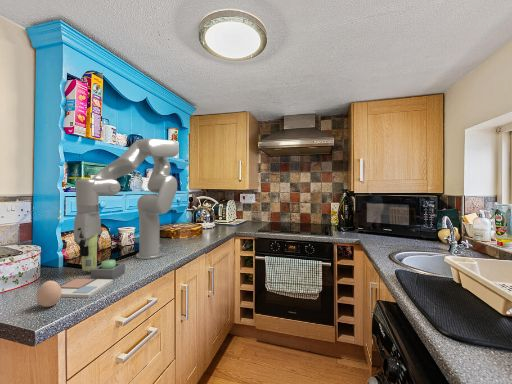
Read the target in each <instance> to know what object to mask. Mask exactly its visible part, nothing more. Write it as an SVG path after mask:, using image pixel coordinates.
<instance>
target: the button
mask: <svg viewBox="0 0 512 384" xmlns="http://www.w3.org/2000/svg"><path fill="white" fill-rule="evenodd" d="M116 263H117V262H116V259H105V260H103V261H101V265H102V269H113V268H114V267H116Z"/></svg>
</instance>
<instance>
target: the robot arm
mask: <svg viewBox="0 0 512 384" xmlns="http://www.w3.org/2000/svg"><path fill="white" fill-rule="evenodd" d="M179 152H180V148H179V145H178V144H177V143H176V142H175V141H174V140H170V139H159V138H141V139H137V140H135V141H134V142H133V143H132V144H131V145H130V146H129V147H128V148H127V149H126V150H125V151H124V153H122V154H121V155H120V156H119V157H118V158H116V159H115V160H113V161H111V162H110V163H109V164H107V165H105V166H104V167H103V168H102V169H100V170H99V171H98V172H97V173H96V174H94V176H93V177H92V178H81V179H77V180H76V181H75V203H76V204H75V205H76V206H75V207H76V214H75V215H74V216H75V217H74V222H73V242H75V243H76V245H77V246H78V247H79V257H82V256H89V248H88V246H87V243H88V238H91V237H93V236H95V235H96V233H97V252H99V251H100V247H99V246H100V245H99V244H100V243H99V242H100V238H101V235H102V234H103V230H102V223H101V221H102V220H101V215H100V203H99V202H100V201H99V198H100V197H99V196H104V197H112V196H115V195H118V193H119V192H120V191H121V188H122V187H121V183H120V182H119V181H118V180H117V179H118V178H120V177H123V176H126V175H129V174H131V173H134V172H135V171H136V170H137V168H139V166H140V165H141V164H142V163H143V162H144V160H146V159H147V158H148V157H151V158H152V160H153V168H152V171H151V174H150V177H149V179H148V181H147V189H148V191H149V192H150V193H145V194H143V195H141V196H140V197H139V198H138V199H137V206H136V207H137V210H138V217H139V218H138V220H139V225H138V226H139V227H138V229H139V230H138V233H139V234H138V236H139V239H138V240H139V241H138V243H139V244H138V245H139V246H138V247H139V248H138V249H139V250H138V251H139V252H137V253H136V254H135V258H137V259H139V260H151V259H152V260H153V259H157V258H160V257H162V256H163V251H162V250H160V248H161V247H162V244H161V243H160V237H161V236H160V235H161V234H160V229H161V228H160V227H161V226H160V225H161V224H160V217H159V215H164V214H166V213H169V211H170V209H171V207H172V205H173V202H174V200H175V197H176V194H177V191H178V190H177V189H178V181H177V178H175V176H173V175H170V172H171V169H172V168H171V164H170V163H171V162H170V161H169V159H168V158H174V157H176V156H177V155H178V154H179ZM82 237H83V238H82ZM82 240H85V241H84V242H83V241H82Z"/></svg>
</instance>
